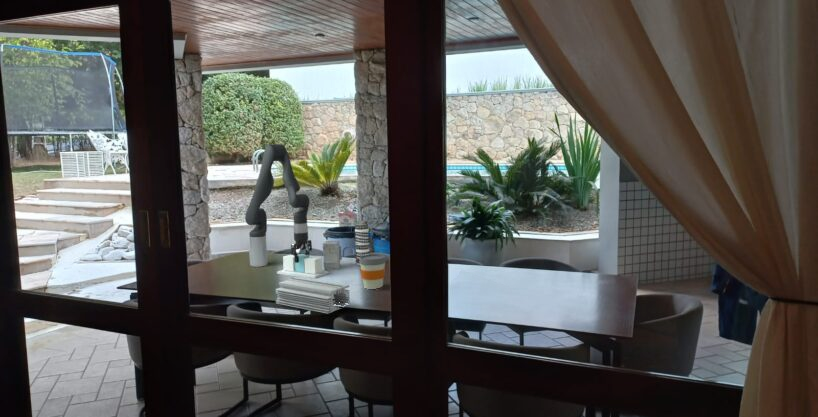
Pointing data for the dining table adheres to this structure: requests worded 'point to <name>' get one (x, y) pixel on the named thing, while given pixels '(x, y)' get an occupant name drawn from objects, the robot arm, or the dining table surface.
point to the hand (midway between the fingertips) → (302, 260)
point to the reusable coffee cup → (372, 270)
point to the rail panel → (311, 267)
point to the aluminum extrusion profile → (312, 294)
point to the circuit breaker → (331, 255)
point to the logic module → (301, 263)
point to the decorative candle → (361, 239)
